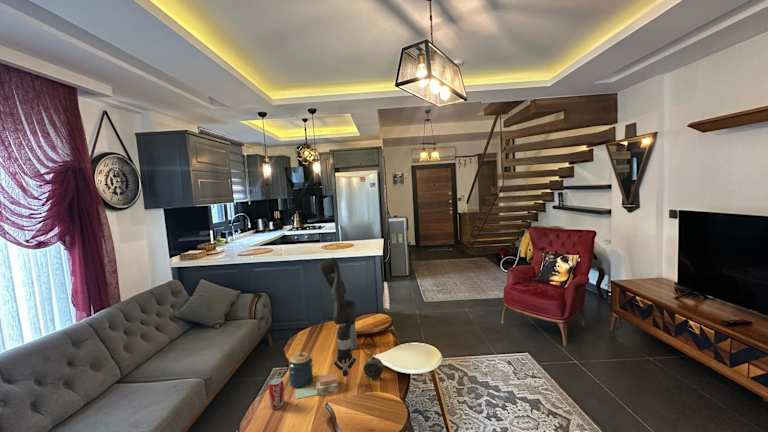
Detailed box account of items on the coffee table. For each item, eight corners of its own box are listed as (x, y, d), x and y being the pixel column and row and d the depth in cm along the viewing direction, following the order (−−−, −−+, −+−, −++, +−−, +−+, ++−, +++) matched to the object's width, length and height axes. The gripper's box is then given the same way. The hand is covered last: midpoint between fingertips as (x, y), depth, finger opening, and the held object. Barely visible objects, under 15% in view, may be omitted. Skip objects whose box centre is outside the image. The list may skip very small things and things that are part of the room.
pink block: (335, 376, 178) (335, 373, 178) (337, 382, 172) (337, 378, 172) (319, 379, 175) (319, 376, 175) (320, 385, 170) (320, 382, 169)
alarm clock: (384, 377, 182) (383, 350, 181) (382, 383, 177) (381, 355, 176) (365, 375, 185) (364, 348, 183) (363, 381, 179) (362, 353, 178)
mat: (315, 386, 176) (315, 385, 176) (317, 394, 168) (317, 394, 168) (295, 390, 173) (295, 389, 173) (295, 399, 165) (295, 398, 165)
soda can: (271, 401, 164) (270, 377, 163) (285, 399, 165) (284, 375, 164) (267, 410, 157) (266, 385, 156) (282, 409, 158) (281, 384, 157)
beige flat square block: (335, 381, 180) (335, 374, 180) (338, 391, 170) (337, 384, 170) (315, 385, 177) (315, 378, 177) (317, 396, 167) (316, 388, 167)
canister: (292, 391, 172) (290, 360, 171) (287, 379, 183) (286, 349, 182) (315, 384, 178) (314, 353, 177) (309, 372, 189) (308, 344, 188)
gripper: (354, 340, 180) (355, 370, 182) (331, 344, 177) (332, 374, 178) (357, 346, 173) (358, 377, 175) (333, 351, 169) (334, 382, 171)
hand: (345, 375), depth 176 cm, fingers closed
